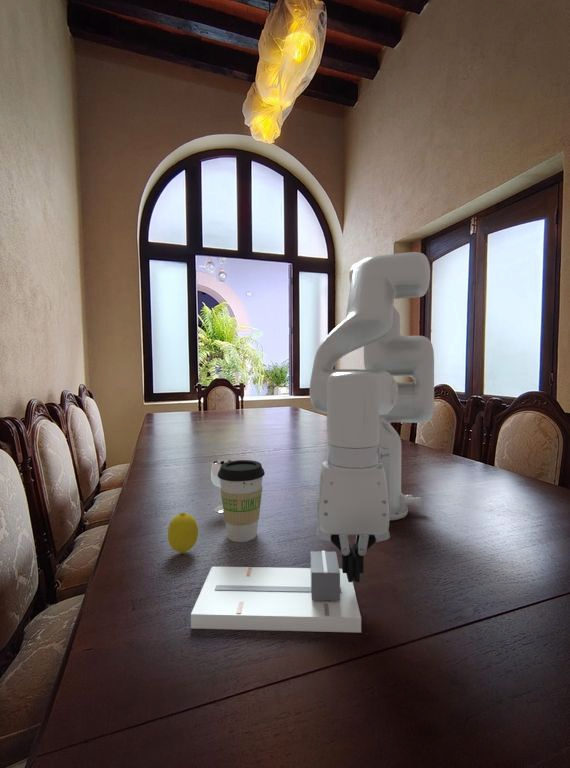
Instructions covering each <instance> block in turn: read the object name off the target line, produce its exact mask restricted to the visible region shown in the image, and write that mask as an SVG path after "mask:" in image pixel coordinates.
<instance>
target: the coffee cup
mask: <svg viewBox="0 0 570 768" xmlns="http://www.w3.org/2000/svg"><path fill="white" fill-rule="evenodd" d="M264 476H265V470H264V468H263V466H262V463H261V462H259V461H256V460H250V459H238V460H231V461H230V462H226V463H223V464H222V465H221V467H220V470H219V471H218V477H219V478H220V483H221V488H220V496H221V505H222V504H223V512H224V513H223V518H224V522H225V530H226V537H227V539H228V540H230V541H231V542H235V543H236V542H237V543H246V542H249V541H252V540H254V539H255V538H256V537H257V534H258V525H259V520H260V513H261V512H260V511H261V503H262V495H263V486H262V485H263V484H262V483H263V477H264Z"/></svg>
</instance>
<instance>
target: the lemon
mask: <svg viewBox="0 0 570 768" xmlns="http://www.w3.org/2000/svg"><path fill="white" fill-rule="evenodd" d="M198 535H199V529H198V523H197V521H196V519H195V517H194V516H193V515H191V514H189V513H186V512H185V511H183V512H182V511H181V512H180V513H178V514H177V515H175V516H174V517H173V518H172V520H171V521H170V522H169V526H168V530H167V539H168V544H169V546H170V548H171V549H173V550H174V551H175V552H178V553H180V554H182V555H184V554H186V553H187V552H188V551H190V550H192V548H193V547H194V546H195V545H196V543H197V541H198V537H199V536H198Z"/></svg>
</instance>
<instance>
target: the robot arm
mask: <svg viewBox="0 0 570 768" xmlns="http://www.w3.org/2000/svg"><path fill="white" fill-rule="evenodd" d="M348 277H349V283H350V286H349V294H348V300H347V308H346V316H345V319H344V320H342V321H341V322H340V323H339V324H338V325H337V326H336V327H334V328H333V329H332V330H331V331H330V332H329V333H328V334H327V335H326V336H325V338H324V339H323V340H322V342H321V343H320V344H319V346H318V348H317V350H316V353H315V355H314V359H313V365H312V369H311V370H312V371H311V376H310V381H309V382H310V383H309V399H310V403H311V405H312V407H313V408H314V410H316V411H317V412H320V413H322V414H326V460H324V461H322V463H321V466H320V472H319V479H318V490H317V493H318V494H317V495H318V496H317V519H318V524H317V528H316V530H315V531H316V532H315V534H316V538H317V539H318V540H323V541H326V542H331V543H332V545H334V546H336V548H337V549H338V550H339V551H340V552H341V569H342V572H343V573H346V574H347V578H348V582H355V583H360V581H361V580H360V578H361V577H360V576H361V574H364V569H365V567H364V559H365V558H364V557H365V555H366V554H367V551H368V550H369V549H370V548H372V546H374V544H375V543H379V542H383V541H387V540H390V538H391V535H390V531H389V529H390V528H389V527H390V521H396V520H400V519H403V518H405V517H406V516H407V515H408V511H409V510H408V507H409V506H422V504H423V500H422V497H420V496H419V497H418V496H416V497H415V496H413V494H404V493H402V440H401V437H400V434H399V433H398V432H397V431H396V429H395V428H394V427H393V425H391V423H406V424H407V423H409V424H411V423H413V424H414V423H415V424H422V423H428V422H429V421H430V420H431V419H432V418H433V416H434V411H435V355H434V347H433V343H432V340H430V338H428V337H426V336H425V335H424V336H423V335H401V316H400V313H399V311H398V309H397V308H396V307H395V305H394V304H395V303H394V300H396V299H411V298H412V299H413V298H421V297H423V296H425V295H426V294H427V292H428V290H429V287H430V281H431V266H430V262H429V260H428V257H427V256H426V255H425V254H424V253H422V252H418V251H410V252H408V251H407V252H401V253H400V252H399V253H391V254H383V255H381V254H380V255H374V256H369V257H366V258H364V259H362V260H360V261H358V262H357V263H354V264H353V265H352V266H351V268H350V270H349V276H348ZM360 348H363V365H364V369H359V368H356V369H355V368H351V369H350V368H349V369H348V368H347V369H346V368H342V369H337V368H336V369H335V365H336V364H337V363H338V361H340V359H342V358H344V356H346V355H347V354H349V353H351V352H354V351H356V350H358V349H360ZM395 377H408V378H412V379H413V382H412V381H411V382H409V381H407V382H406V381H405V382H403V381H402V382H400V381H398V382H397V381H396V379H395ZM349 536H355V541H354V544H353V545H352V547H351V544H350V543H349Z"/></svg>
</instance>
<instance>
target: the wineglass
mask: <svg viewBox="0 0 570 768" xmlns="http://www.w3.org/2000/svg"><path fill="white" fill-rule="evenodd" d="M230 461H232V460H230V459H217V460H214V461H212V465H211V470H210V479H211V483H212V484H213V485H214V486H215V487H218V488H220V489H221V483H220V478H219V477H218V471H219V470H220V467H221V465H222V464H223V463H226V462H230ZM213 511H214V512H215V513H219V514H221V513H222V514H224V512H223V504H222V503H221V505H218V506H216V507H214V510H213Z"/></svg>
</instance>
